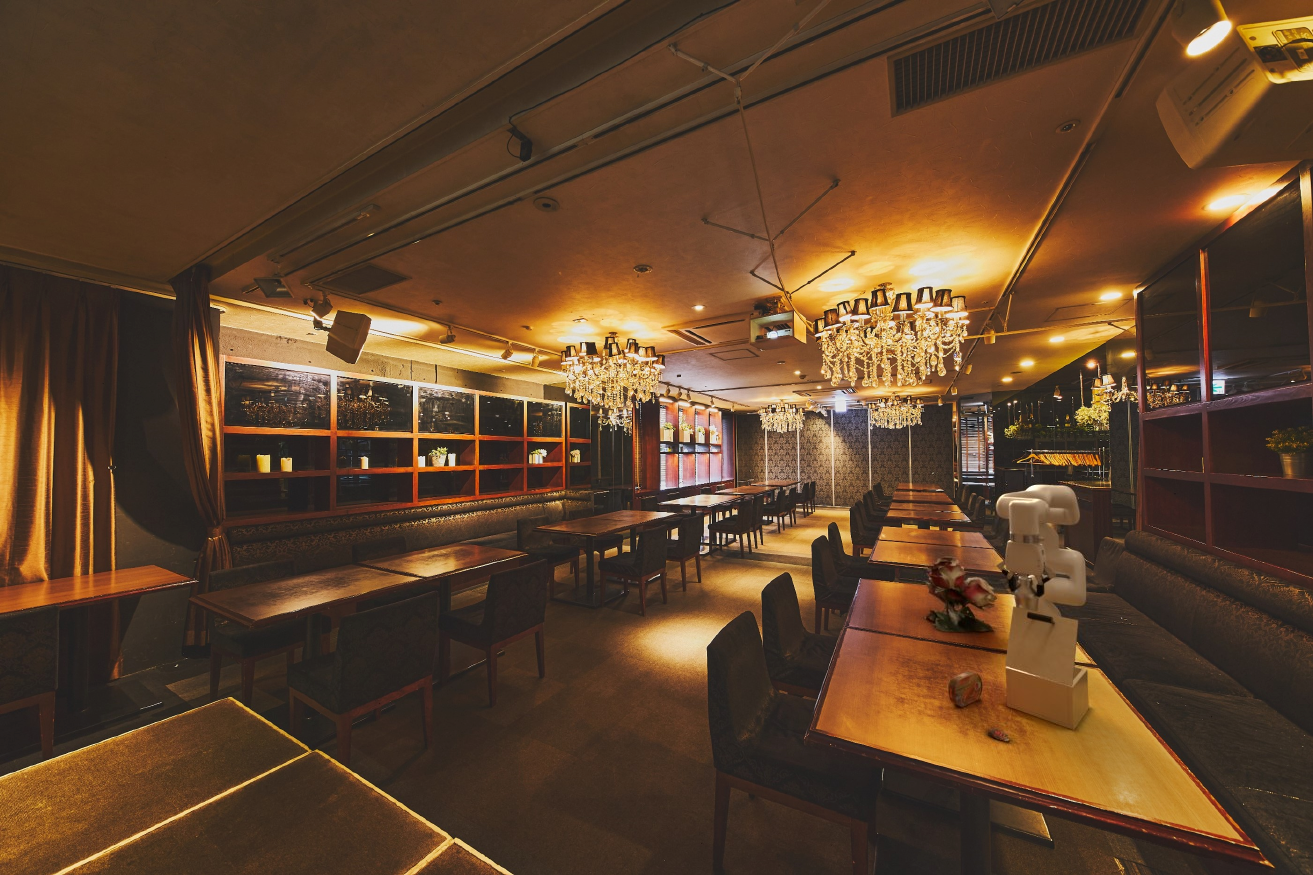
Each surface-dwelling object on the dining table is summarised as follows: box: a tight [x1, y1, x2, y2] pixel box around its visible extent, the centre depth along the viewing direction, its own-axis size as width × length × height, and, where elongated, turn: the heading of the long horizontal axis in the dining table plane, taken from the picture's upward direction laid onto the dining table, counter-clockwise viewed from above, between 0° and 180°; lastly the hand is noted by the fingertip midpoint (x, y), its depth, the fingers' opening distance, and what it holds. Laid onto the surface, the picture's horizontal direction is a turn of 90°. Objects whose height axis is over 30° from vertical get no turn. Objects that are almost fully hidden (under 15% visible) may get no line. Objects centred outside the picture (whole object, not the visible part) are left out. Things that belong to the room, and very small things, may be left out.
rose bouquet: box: [923, 555, 998, 633], centre depth 218 cm, size 26×29×30 cm
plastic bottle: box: [1013, 576, 1039, 611], centre depth 153 cm, size 6×7×20 cm
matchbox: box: [987, 727, 1010, 742], centre depth 132 cm, size 5×5×1 cm
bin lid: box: [1005, 606, 1079, 686], centre depth 142 cm, size 19×16×5 cm
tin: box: [947, 670, 984, 708], centre depth 150 cm, size 15×3×8 cm, turn 117°
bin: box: [1005, 665, 1090, 731], centre depth 146 cm, size 18×16×12 cm
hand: (1026, 593), depth 153 cm, fingers closed on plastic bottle, 6 cm apart
